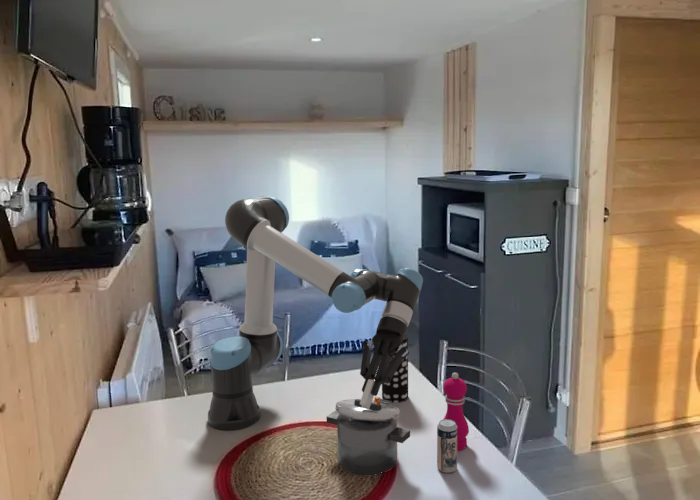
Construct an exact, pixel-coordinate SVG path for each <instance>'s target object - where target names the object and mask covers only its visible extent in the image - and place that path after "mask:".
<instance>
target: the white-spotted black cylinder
mask: <svg viewBox="0 0 700 500" xmlns="http://www.w3.org/2000/svg"><path fill="white" fill-rule="evenodd" d="M408 343H409V336H408V335H407V333H406V334H405V337H404V340H403V346H404V347H406V349H407V350H408V351H409V344H408ZM397 352H398V351H397ZM397 352H396V353H397ZM396 353H394V354H393V357H392V359H393V358H394V356H395V354H396ZM391 361H392V360H391ZM391 361H390V362H391ZM389 364H390V363H389ZM388 366H389V365H388ZM381 399H383V400H388V401H392V403H393V404H394V403H395V404H396V403H402V402H406V401H407V400H408V399H409V354H408V355H407V356H406V357H405V358H404V359H403V360H402V362H401V364H400V365H399V367H398V369H397V370H396V372H395V374H394V375H393V377H392V379H391V380H390V382H389V383H388V384H387V383H383V384H381Z"/></svg>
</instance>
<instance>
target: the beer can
mask: <svg viewBox="0 0 700 500" xmlns="http://www.w3.org/2000/svg"><path fill="white" fill-rule="evenodd" d="M443 419H444V418H443ZM443 419H440V421H439V422H438V424H437V426H436V427H437V430H436V431H437V432H436V441H437V442H436V445H437V446H436V451H437V452H436V458H437V459H436V460H437V461H436V462H437V463H436V465H437V466H436V468H437V469H438V470H439V471H441V472H442V473H444V474H445V473H446V474H447V473H448V474H450V473H453V472H455V471H456V470H457V469H458V450H457V425H456V423H455V422H454V421H453V420H450V419H444V420H443Z"/></svg>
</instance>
